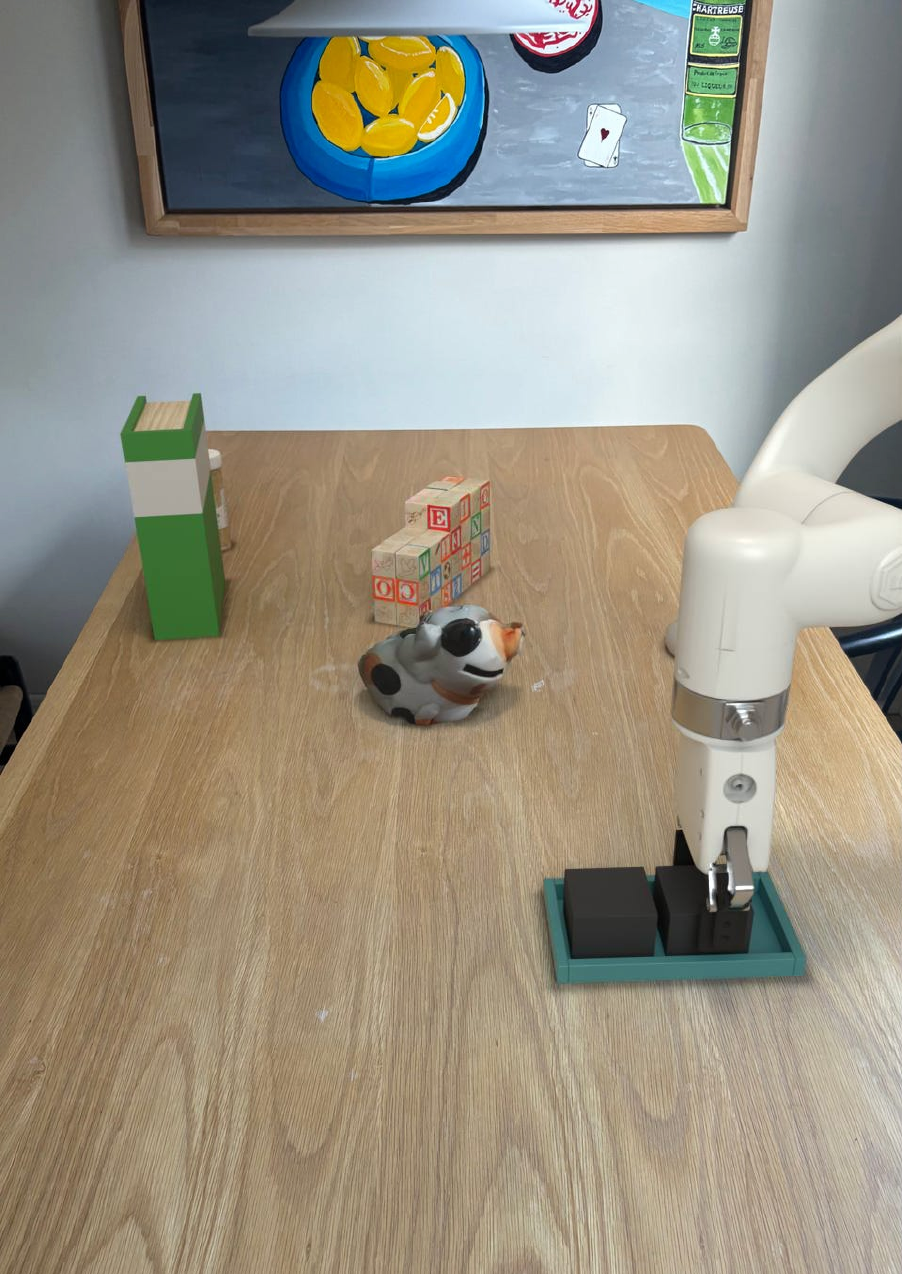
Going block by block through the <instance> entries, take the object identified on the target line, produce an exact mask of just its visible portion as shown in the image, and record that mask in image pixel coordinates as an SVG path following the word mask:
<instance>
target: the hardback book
mask: <svg viewBox="0 0 902 1274" xmlns="http://www.w3.org/2000/svg"><path fill="white" fill-rule="evenodd" d="M129 412H130V413H129V414H128V416H127V419H126V421H125V422H124V425H123V427H122V430H121V431H120V439H121V440H120V441H121V448H122V452H123V459H124V464H125V470H126V476H127V482H128V488H129V495H130V499H131V506H132V512H133V518H134V523H135V529H136V530H135V531H136V535H137V541H138V547H139V555H140V559H141V565H142V566H141V567H142V571H143V577H144V582H145V588H146V589H145V590H146V595H147V596H146V597H147V600H148V601H147V602H148V606H149V614H150V619H151V626H152V630H153V637H154V640H155V641H163V640H176V639H177V640H179V639H192V638H206V637H220V631H221V622H222V613H223V603H224V597H225V596H224V595H225V586H226V578H225V577H226V575H225V569H224V562H223V553H222V551H221V545H220V537H219V530H218V522H217V514H216V506H215V499H214V491H213V483H212V475H211V468H210V460H209V452H208V449H209V446H208V439H207V438H208V437H207V431H206V429H207V428H206V421H205V415H204V406H203V398H202V393H201V392H197V393H196V392H194V393H192V396H191V399H190V400H176V401H174V400H172V401H154V402H153V401H151V402H147V396H146V395H137V397H136V398H135V401H134V404H133V406H132V407H131V410H130V411H129Z"/></svg>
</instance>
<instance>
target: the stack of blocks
mask: <svg viewBox="0 0 902 1274" xmlns="http://www.w3.org/2000/svg"><path fill="white" fill-rule="evenodd" d="M490 482H491V481H490V480H489V479H482V478H472V477H468V478H467V477H461V476H453V475H452V476H451V475H445V476H443V477H442V478H440V479H438V480H434V481H432V482H431V483H429V484H428V485H427V486H426V487H425V488H423V489H421V490H420V491H418V492H417V493H416V494H414V495H413V496H412V497H410V498H409V499H407V500H406V501H404V522H405V523H404V525H405V526H404V527H403V528H401V529H400V530H398V531H397V532H395V533H393V534H392V535H390V536H389V537H388V538H386V539H385V540H383V541H382V542H381V543H379V544H378V545H376V546H375V547H373V548H372V549H371V564H372V567H371V568H372V575H371V585H372V586H371V589H372V597H373V599H372V600H373V615H374V622H375V623H382V624H388V625H394V626H399V627H405V628H410V629H412V628H416V627H417V625H418V624H419V622H420V616H421V615H422V613H424V612H425V611H426V610H432V611H433V612H434V611H436V610H437V609H439V608H442V607H448V606H449V605H450V604H451V603H452V602H453V601H454V600H455V599H456V598H458V597H459V596H460V595H461V594H462V593H464V591H466V590H467V589H468V588H469V587H471V585H473V584H475V582H477V581H478V580H479V579H480V578H481V577H483V576H484V575H486V573H488V572H489V571H490V570H491V549H490V547H491V542H490V541H491V540H490V537H491V535H490V533H491V504H490V503H491V502H490V501H491V499H490V498H491V493H490V491H491V483H490Z"/></svg>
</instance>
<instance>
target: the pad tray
mask: <svg viewBox="0 0 902 1274" xmlns="http://www.w3.org/2000/svg"><path fill="white" fill-rule="evenodd" d="M751 872H752V878H753V884H754V894H753V896H752V897H751V899H752V902H751V905H752V908H753V910H754V918H753V925H752V931H751V938H750V945H749V951H748V954H721V955H690V956H665V952H664V949H663V945H662V942H661V938H660V935H659V931H658V928H657V929H656V940H655V950H654V957H627V958H595V959H571V954H570V949H569V943H568V937H567V931H566V926H565V920H564V914H563V894H564V877H554V878H553V877H552V878H551V877H550V878H549V877H547V878H546V877H545V878H543V885H542V886H543V887H542V889H543V890H542V895H543V902H544V903H543V904H544V908H545V916H546V922H547V928H548V929H547V930H548V934H549V940H550V948H551V955H552V960H553V967H554V973H555V979H556V984H582V983H583V984H584V983H586V984H587V983H611V982H612V983H614V982H615V983H616V982H646V981H647V982H648V981H673V980H674V981H676V980H678V981H680V980H681V981H682V980H706V979H707V980H709V979H712V980H713V979H738V978H739V979H740V978H741V979H743V978H744V979H745V978H771V977H774V978H775V977H800V976H804V975H805V970H806V965H807V959H808V958H807V956H806V954H805V952H804V949H803V947H802V944H801V942H800V940H799V938H798V936H797V933H796V931H795V929H794V927H793V924H792V922H791V920H790V918H789V916H788V915H789V914H787V911H786V909H785V906H784V905H783V902H782V899H781V897H780V896H779V893H778V890H777V889H776V886H775V884H774V882H773V880H772V878H771V875H770V873H769V871H765V872H763V873H760V872H753V871H751ZM646 876H647V880H648V883H649V886H650V890H651V893H652V897H653V890H654V879H655V874H646Z"/></svg>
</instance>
